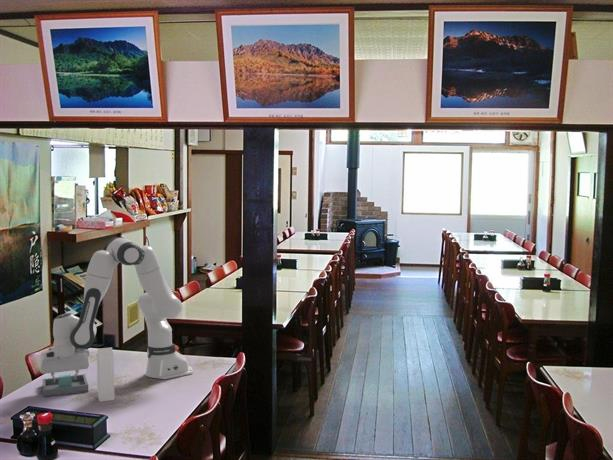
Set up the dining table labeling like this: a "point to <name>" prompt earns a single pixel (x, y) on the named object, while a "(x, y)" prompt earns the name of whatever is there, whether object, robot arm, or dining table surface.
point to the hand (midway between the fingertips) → (65, 380)
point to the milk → (105, 374)
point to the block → (65, 380)
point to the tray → (53, 387)
